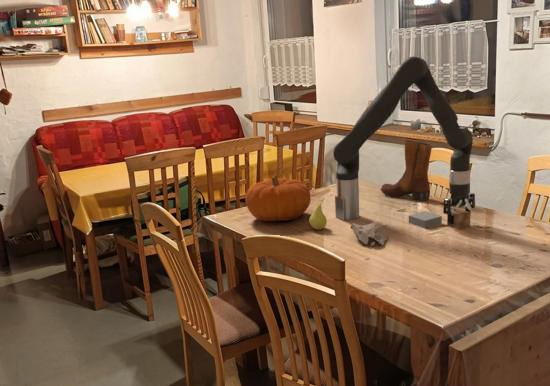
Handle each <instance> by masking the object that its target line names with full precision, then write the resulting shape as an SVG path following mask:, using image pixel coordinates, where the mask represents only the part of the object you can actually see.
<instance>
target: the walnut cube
mask: <svg viewBox="0 0 550 386" xmlns="http://www.w3.org/2000/svg"><path fill="white" fill-rule="evenodd" d="M451 212H452V210H451ZM470 213H471V212H467V211H465V209H464V210H463V209H461V208H458V209H457V210H456V211H455V213H454V224H449V223H448V215H447V214H446V215H447V217H446V219H447V220H446V222H447V223H446V227H448V228H451V229H454V230H456V231H460V230H465V229H467V228H468V229H469V228H470V227H471V217H470ZM471 214H472V213H471Z"/></svg>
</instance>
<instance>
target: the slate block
mask: <svg viewBox="0 0 550 386" xmlns="http://www.w3.org/2000/svg"><path fill="white" fill-rule="evenodd" d="M442 222H443V217H442V215H440V214H435V213H432V212H430V211H426V210H424V211H421V212H417V213H414V214H409V215H408V223H409V224H412V225H413V226H417V227H419V228H422V229H427V228H431V227H435V226H438V225H441V224H443V223H442Z"/></svg>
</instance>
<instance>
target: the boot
mask: <svg viewBox="0 0 550 386" xmlns="http://www.w3.org/2000/svg"><path fill="white" fill-rule="evenodd" d="M403 141H404V144H403V145H404V162H405V171H404V173H403V174H402V175H401V178H400V179H399V180H398V181H397V182H396V183H395V184H391V183H384V184H382V186H381V188H380V192H381V193H383V195H385V196H387V197H390V198H392V199H394V198H395V199H397V198H398V199H399V198H402V197H405V196H409V195H411V197H412V198H411V200H412V201H415V202H416V201H417V202H429V200H430V197H431V196H430V195H431V190H430V188H431V185H430V182H429V175H428V174H429V173H428V169H429V164H430V158H431V155H432V147H433V145H432V144H428V143H425V142H422V141H421V142H420V141H413V140H408V139H404V140H403Z"/></svg>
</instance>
